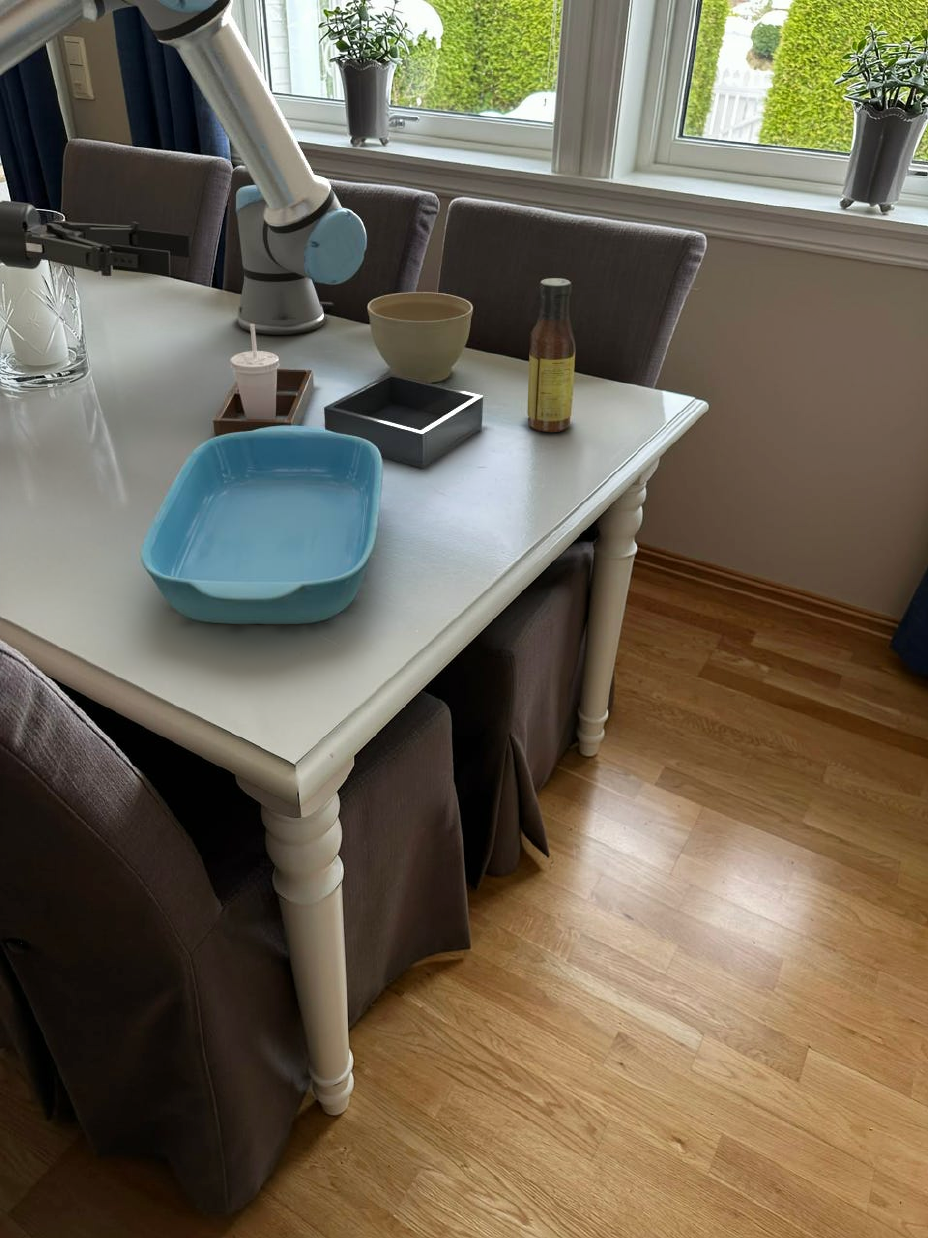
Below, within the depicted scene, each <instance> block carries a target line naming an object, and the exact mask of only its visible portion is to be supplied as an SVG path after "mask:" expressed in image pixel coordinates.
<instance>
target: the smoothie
mask: <svg viewBox="0 0 928 1238" xmlns="http://www.w3.org/2000/svg"><path fill="white" fill-rule="evenodd" d="M250 329H251V331H250V338H251V349H252V350H250V351H249V350H248V351H243V352H239V353H237V354H234V355H233V356H231V358H230V360H229V361H230V369H231V370H233V372H234V377H235V382H236V381H237V385H238V389H239V393H240V397H241V401H242V405H243V409H244V413H245V414H244V416H245V419H263V420H276V416H277V415H276V393H277V390H276V385H277V369H279V367H280V362H279V361H280V360H279V356H278V355H276V354H275V353H273V352H270V351H264V350H258V346H257V337H256V333H255V326H254V324H250Z"/></svg>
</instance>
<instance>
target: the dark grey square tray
mask: <svg viewBox="0 0 928 1238" xmlns="http://www.w3.org/2000/svg"><path fill="white" fill-rule="evenodd" d="M483 408H484V396H483V395H482V394H481V395H480V394H476V393H472V392H468V391H465V390H460V389H456V388H451V387H448V386H444V385H439V384H436V383H428V382H423V381H419V380H415V379H411V378H407V377H403V376H399V375H395V374H391V372H390V373H387V374H386V375H384V376H382V377H380V378H378V379H376V380H374V381H372V382H369V384H366V385H364V386H362V387H361V388H359V389H356V390H355V391H353V392H351V393H349V394H347V395H345V396H343V397H341V398H339V399H337V400H335V401H334V402H332V403H329V404H328V405H325V406H324V407H323V419H324V430H328V431H331V432H334V433H339V434H345V435H350V436H355V437H359V438H362V439H365V440H367V441H369V442H371V443H373V444H374V445H375V446H376V447H377V448H378V450H379V452H380V454H381V458H384V459H388V460H391V461H395V462H399V463H402V464H406V465H409V466H411V467H416V468H418V469H421V470H422V469H425V468H426V467H427V466H429V465H431V464H432V463H433V462H435V461H436V460H437V459H439V458H440V457H442V456H444V455H445V454H446V453H448V452H449V451H451V450H452V449H454V448H455V447H456V446H458V445H460V444H461V443H463V442H464V441H466V440H467V439H468V438H470V437H471V436H473V435H474V434H476V433H478V432H479V431H480V430H482V429H483V415H484V414H483V413H484V409H483Z"/></svg>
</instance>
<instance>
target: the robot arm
mask: <svg viewBox="0 0 928 1238" xmlns="http://www.w3.org/2000/svg"><path fill="white" fill-rule="evenodd" d="M233 3H234V0H0V76H2V75H3V74H5V73H6V72H8V71H9V70H10V69H12V68H13V67H15V66H16V65H17V64H19V63H21V62H22V61H23V60H25V59H26V58H28V57H29V56H31V55H32V54H33V53H35V52H37V51H38V50H39V49H41V48H42V47H44V46H45V45H47V44H48V43H50V42H51V41H52V40H54V39H55V38H57V37H59V36H60V35H61V34H63V33H64V32H65V31H67V30H68V29H70V28H71V27H72V26H74V25H75V24H77V23H78V22H80V21H85V22H87V23H90V24H93V23H95V22H97V21H98V20H99V19H101V18H103V16H104V17H105V15H107V14H110V13H112V12H114V11H116V10H120V9H125V8H129V7H138V9H139V11H140V12H141V14H142V16H143V17H144V19H145V21H146V23H147V24H148V26H149V28H150V30H151V31H152V33H153V34H154V36H155V38H156V39H157V41H158V42H159V43H162V44H165V45H167V46H171V47H173V48H175V49H176V51H177V53H178V54H179V56H180V58H181V59H182V62H183V63H184V65H185V66H186V68H187V70H188V71H189V73H190V75H191V77H192V78H193V80H194V82H195V83H196V85H197V87H198V89H199V90H200V93H201V94H202V96H203V97H204V99H205V100H206V102H207V104H208V106H209V108H210V109H211V111H212V112H213V115H214V116H215V118H216V119H217V121H218V123H219V125H220V126H221V128H222V130H223V132H224V133H225V135H226V136H227V138H228V139H229V142H230V144H231V145H232V147H233V149H234V151H235V152H236V154H237V156H238V157H239V159H240V160H241V163H242V164H243V166H244V167H245V170H246V171H247V173H248V174H249V176H250V178H251V180H252V181H253V183H254V184H252V185H246V186H242V187H240V188H239V189H238V190H237V191H236V194H235V214H236V216H237V217H236V218H237V226H238V234H239V243H240V252H241V253H240V254H241V262H242V270H243V271H242V272H243V285H242V288H241V295H240V302H239V303H240V304H239V306H238V309H237V319H238V325H239V327H240V328H242V329H244V330H245V331H248V332H251V329H250V324H254V326H255V334H260V335H269V336H271V335H272V336H287V335H288V336H289V335H297V334H298V335H299V334H304V333H307V332H312V331H314V330H317V329H319V328H320V327H321V326H323V325H324V322H325V315H324V309H325V308H327V309H332V308H334V302H328V301H327V302H326V301H320V300H319V297H318V294H317V290H316V288H315V285H314V282H315V283H318V284H326V285H331V286H333V285H340V284H344V283H345V282H346V281H348V280H350V279H351V278H352V277H353V276H354V275H355V274H356V273H357V271H358V270H359V269H360V267H361V265H362V263H363V261H364V259H365V256H364V255H365V252H366V251H367V246H368V245H367V244H368V243H367V242H368V241H367V240H368V239H367V238H368V237H367V232H366V228H365V226H364V225H365V224H364V222H363V221H362V219H361V218H360V217H359V216H358V215H357V214H356V213H354V212H353V210H351V209H349V208H347V207H343V206H342V205H341V203H340V201H339V199H338V197H337V195H336V193H335V192H334V190H333V187H332V185H331V184H330V182H329V180H328V178H325V177H324V176H320V175H317V174H314V172H313V170H312V168H311V166H310V164H309V163H308V160H307V158H306V157H305V154H304V153H303V151H302V149H301V148H300V145H299V144H298V141H297V140H296V138H295V136H294V134H293V132H292V130H291V128H290V126H289V124H288V123H287V120H286V119H285V117H284V114H283V113H282V111H281V108H280V107H279V105H278V103H277V101H276V100H275V97H274V95H273V93H272V92H271V90H270V87H269V86H268V84H267V82H266V80H265V78H264V76H263V74H262V72H261V70H260V68H259V67H258V65H257V63H256V61H255V59H254V57H253V55H252V53H251V51H250V49H249V47H248V45H247V44H246V42H245V40H244V38H243V36H242V33H241V32H240V30H239V28H238V26H237V24H236V22H235V21H234V18H233V17H232V8H233ZM190 239H191V237H190V234H184V233H175V232H168V231H161V230H159V231H158V230H152V229H143V228H140V223H139V222H137V221H131V224H129V225H127V224H126V225H125V224H106V223H104V224H103V223H85V222H72V221H64V220H52V222H47V223H45V224H43V222H42V221H41V219H40V214H39V212H38V210H37V209H36V207H35V206H34V205H32V204H31V203H28V202H19V201H11V200H1V201H0V265H2V264H3V265H4V266H6V267H9V268H10V267H11V268H18V269H26V270H27V269H28V270H35V269H37V268H38V267H39V266H40V264H41V262H42V260H44V261H47V262H52V263H56V264H60V265H65V266H70V267H73V268H79V269H83V270H87V271H92V272H94V273H99V272H101V276H103V277H111V276H112V270H114V271H122V272H131V273H137V274H139V273H140V274H146V275H147V274H148V275H155V276H156V275H157V276H164V277H165V276H166V277H170V276H171V256H173V257H179V258H180V257H182V258H187V259H188V258H190V257H191V240H190ZM323 308H324V309H323Z"/></svg>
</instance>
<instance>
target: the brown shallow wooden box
mask: <svg viewBox="0 0 928 1238" xmlns="http://www.w3.org/2000/svg"><path fill="white" fill-rule="evenodd" d="M314 381H315V380H314V370H313V369H287V368H286V369H284V368H277V385H276V391H297V393H295V392H294V393H293V392H292V393H291V392H276V416H278V415H279V416H287V417H286V419H275V420H263V419H246V418H235V417H236V416H237V414H238V415H245V413H244V409H243V405H242V401H241V397H240V393H239V389H238V385H237V381H236V380H235V382H234V384H233V385H232V387H231V389H230V391H229V392H228V394H227V396H226V398H225V399H224V400H223V402H222V404H221V406H220V407H219V409H218V411H217V412H216V415H215V416H214V417H213V419H212V424H213V431H214V437H218V436H221V435H225V434H230V433H237V432H247V431H253V430H257V429H261V428H266V427H273V426H301V425H302V421H303V419H304V416H305V413H306V411H307V408H308V406H309V403H310V401H311V398H312V396H313V393H314V390H315V383H314Z"/></svg>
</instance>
